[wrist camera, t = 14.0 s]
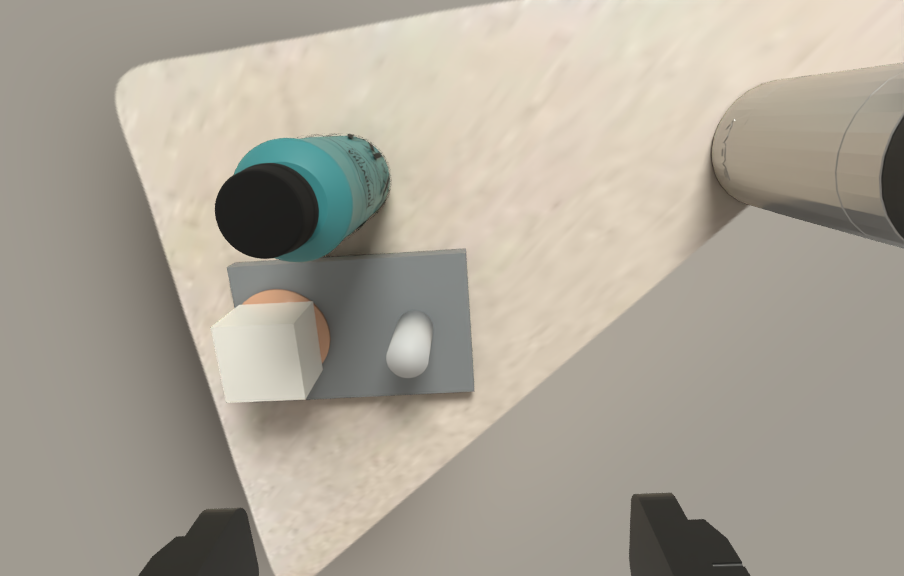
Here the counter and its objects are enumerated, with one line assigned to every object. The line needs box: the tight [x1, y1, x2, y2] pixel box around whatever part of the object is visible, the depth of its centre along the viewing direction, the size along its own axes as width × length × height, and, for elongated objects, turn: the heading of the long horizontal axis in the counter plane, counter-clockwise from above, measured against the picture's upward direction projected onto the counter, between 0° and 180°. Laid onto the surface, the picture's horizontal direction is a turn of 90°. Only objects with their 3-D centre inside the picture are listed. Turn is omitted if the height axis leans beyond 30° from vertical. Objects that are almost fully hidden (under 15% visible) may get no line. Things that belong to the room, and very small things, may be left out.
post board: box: [227, 249, 474, 402], centre depth 42 cm, size 19×12×8 cm, turn 94°
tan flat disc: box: [242, 289, 331, 363], centre depth 44 cm, size 8×8×1 cm
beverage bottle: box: [215, 134, 391, 262], centre depth 32 cm, size 6×7×20 cm
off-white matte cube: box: [211, 301, 323, 403], centre depth 41 cm, size 6×6×5 cm
